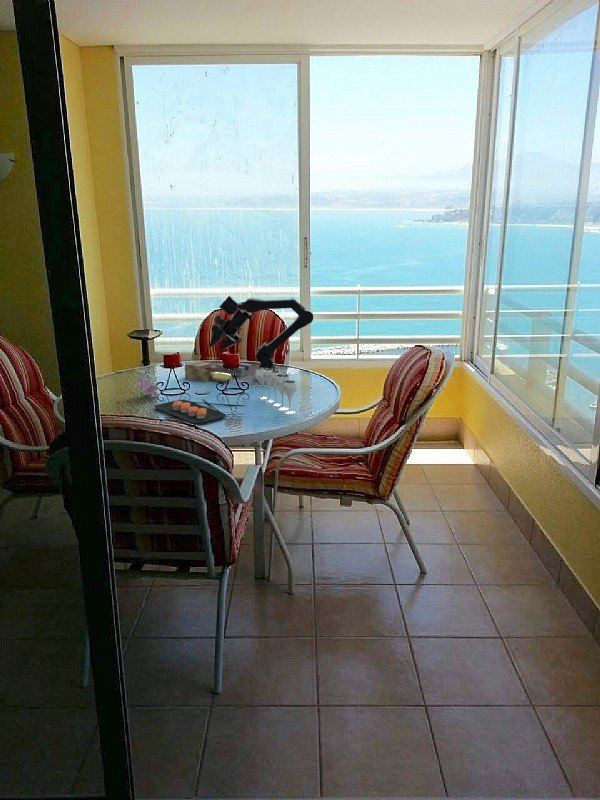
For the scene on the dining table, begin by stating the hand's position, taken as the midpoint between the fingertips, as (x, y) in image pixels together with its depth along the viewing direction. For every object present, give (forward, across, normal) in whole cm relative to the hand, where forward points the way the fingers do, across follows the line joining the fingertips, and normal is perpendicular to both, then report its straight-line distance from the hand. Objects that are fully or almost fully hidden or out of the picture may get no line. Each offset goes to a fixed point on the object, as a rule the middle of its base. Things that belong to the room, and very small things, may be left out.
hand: (215, 348), depth 284 cm
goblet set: (-8, +21, +48) cm, 53 cm away
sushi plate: (+9, +37, +35) cm, 52 cm away
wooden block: (+14, 0, +4) cm, 15 cm away
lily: (+26, +34, +10) cm, 44 cm away
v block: (+5, -15, +8) cm, 18 cm away
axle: (+9, 0, +9) cm, 13 cm away
